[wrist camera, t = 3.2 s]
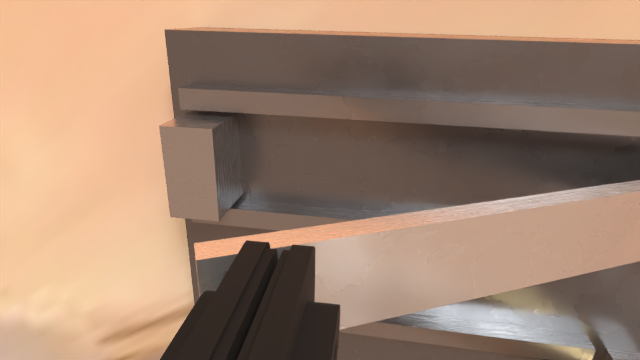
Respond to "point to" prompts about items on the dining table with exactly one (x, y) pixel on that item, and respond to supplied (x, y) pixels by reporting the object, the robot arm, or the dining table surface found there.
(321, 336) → the robot arm
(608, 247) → the steel strap
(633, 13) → the dining table surface
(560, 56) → the heatsink block
